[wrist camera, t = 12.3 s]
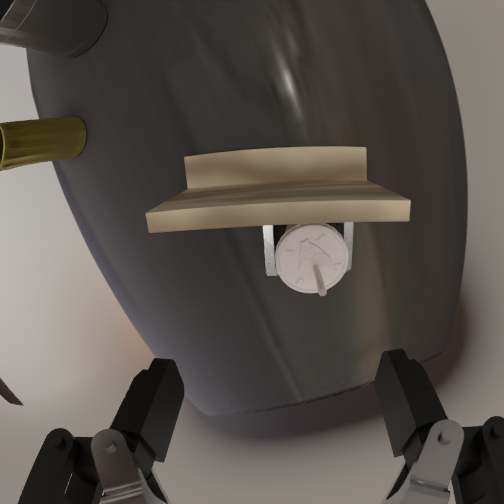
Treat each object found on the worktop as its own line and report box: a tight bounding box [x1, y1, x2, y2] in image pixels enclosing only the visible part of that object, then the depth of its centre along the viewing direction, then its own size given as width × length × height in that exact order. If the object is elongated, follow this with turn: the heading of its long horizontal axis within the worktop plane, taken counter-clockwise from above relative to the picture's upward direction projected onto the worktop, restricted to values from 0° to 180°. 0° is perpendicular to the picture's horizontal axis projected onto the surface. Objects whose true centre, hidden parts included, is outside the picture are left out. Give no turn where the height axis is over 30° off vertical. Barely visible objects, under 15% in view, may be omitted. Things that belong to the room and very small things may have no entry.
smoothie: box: [275, 223, 349, 296], centre depth 25 cm, size 6×6×14 cm
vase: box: [0, 116, 86, 171], centre depth 23 cm, size 6×6×14 cm
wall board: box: [146, 146, 411, 233], centre depth 24 cm, size 5×20×12 cm, turn 95°
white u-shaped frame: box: [263, 222, 353, 276], centre depth 30 cm, size 9×10×4 cm
